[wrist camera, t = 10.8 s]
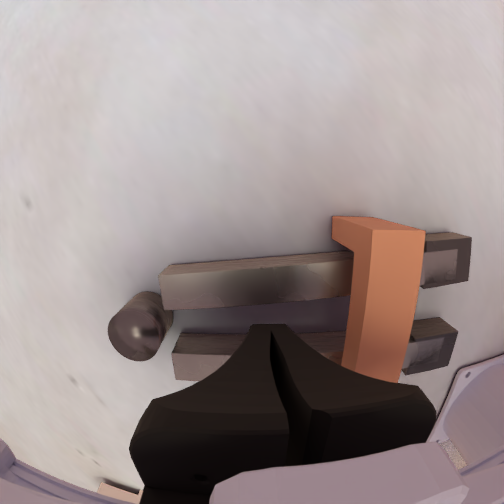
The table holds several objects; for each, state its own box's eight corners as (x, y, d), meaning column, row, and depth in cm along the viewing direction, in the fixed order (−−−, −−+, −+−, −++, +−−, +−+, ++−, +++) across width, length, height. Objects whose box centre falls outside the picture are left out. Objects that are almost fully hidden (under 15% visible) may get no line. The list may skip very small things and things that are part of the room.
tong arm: (174, 300, 13) (165, 314, 12) (167, 254, 13) (156, 263, 11) (449, 272, 13) (467, 280, 12) (452, 232, 13) (471, 237, 11)
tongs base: (138, 361, 14) (122, 388, 12) (126, 290, 14) (103, 310, 11) (431, 349, 15) (453, 371, 12) (445, 284, 14) (473, 299, 11)
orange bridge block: (317, 393, 15) (334, 451, 10) (332, 216, 13) (372, 229, 8) (350, 389, 15) (375, 443, 10) (372, 217, 13) (425, 230, 8)
